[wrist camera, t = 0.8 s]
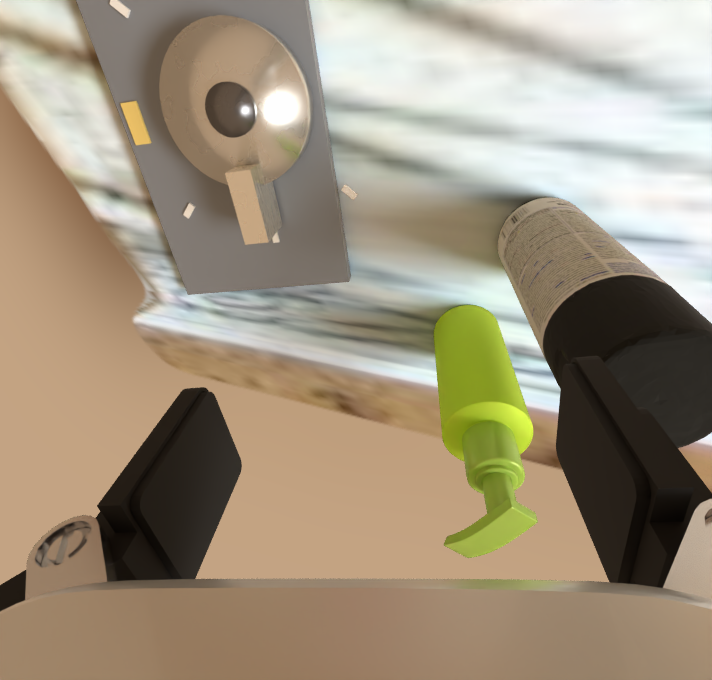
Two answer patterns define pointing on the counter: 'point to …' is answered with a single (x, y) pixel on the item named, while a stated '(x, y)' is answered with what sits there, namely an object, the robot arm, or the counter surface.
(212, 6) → the board
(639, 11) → the counter surface
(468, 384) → the soap dispenser
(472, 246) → the counter surface
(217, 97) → the dial
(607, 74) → the counter surface
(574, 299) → the spray can
